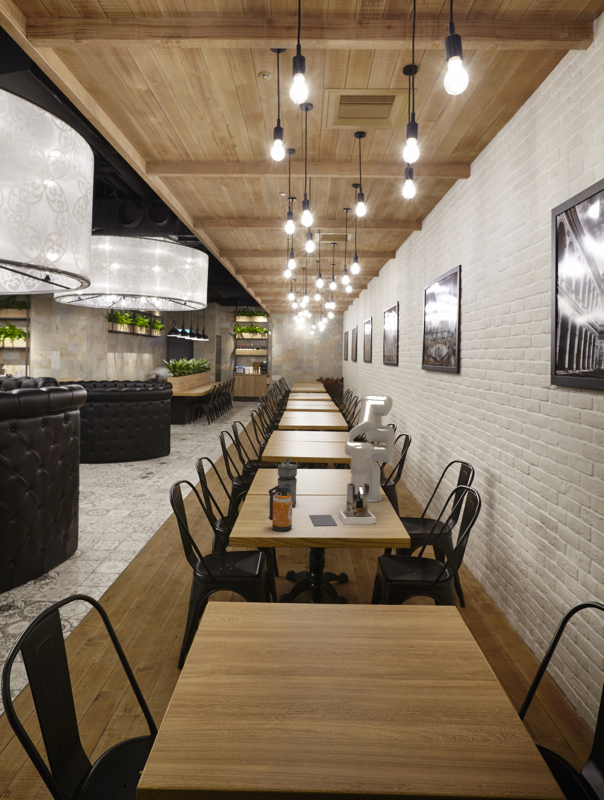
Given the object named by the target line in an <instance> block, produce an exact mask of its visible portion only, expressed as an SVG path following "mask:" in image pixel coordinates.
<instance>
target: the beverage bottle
mask: <svg viewBox="0 0 604 800" xmlns="http://www.w3.org/2000/svg"><path fill="white" fill-rule="evenodd" d="M290 462H291V461H290V458H285V460H284V463H282V464H278V465H277V475H278V478H277V485H278V486H280V487H289V488H291V491H290V492H288V493H287V494H290V495H291V501H292V508H294V507H295V506H296V505H297V483H298V481H297V480H298V479H297V478H296V477H297V475H298V468H297V467H298V465H297V464H293V463H290Z"/></svg>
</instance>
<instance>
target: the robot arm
mask: <svg viewBox="0 0 604 800" xmlns="http://www.w3.org/2000/svg"><path fill="white" fill-rule="evenodd" d="M392 408H393V398H392V397H391V396H390V395H384V394H383V395H382V394H380V395H379V394H364V395H362V396H361V397H360V411H359V416H358V421H357V424H356V425H354V427H352V428H351V429H350V430H349V432H348V434H347V436H346V440H345V445H344V453H345V455H346V456H348V457H350V474H351V477H350V483H352V485H353V486H354V487H355V492H354V494H355V495H356V494H357V500H356V508H363V494H364V488H365V484H368V485H369V503H379V502H381V500H382V501H383V497H382V496H380V492H381V491H380V490H381V468H380V465H379V464H378V463H377V462H381V463H391V462H393V460H394V455H395V430H394V427H392V426H391V425H382V417H385V416H388V415H389V413H390V412H391V410H392ZM363 434H365V438H366V440H367V441H369V442H372V443H369V442H362V441H360V442H359V441H354V439H356V437H358V436H360V435H363ZM375 443H376V444H375ZM377 443H384V444H377ZM358 491H360V494H358ZM358 495H359V497H358ZM378 501H379V502H378Z"/></svg>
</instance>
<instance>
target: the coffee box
mask: <svg viewBox="0 0 604 800" xmlns="http://www.w3.org/2000/svg"><path fill="white" fill-rule="evenodd" d="M354 492H355V487H354V486H353V485H352V483H351V482H350V483H347V489H346V508H345V509H346V515H347V516H348V517H368V510H369V503H370V502H369V485H368V484H365V488H364V494H363V508H356V500H357V494H356V495H355V494H354ZM358 494H360V491H358ZM358 497H359V495H358Z"/></svg>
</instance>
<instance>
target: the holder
mask: <svg viewBox="0 0 604 800" xmlns="http://www.w3.org/2000/svg"><path fill="white" fill-rule="evenodd" d="M338 517H339V519H340V518H341V519H340V520H341V522H342V521H343V522H342V523H343V525H373V524H372V523H377V522H376V520H377V518H376V516H375V515H374V514H373V513H372V512H371V511H370V510H369V509H368V517H348V516H347V515H346V510H338Z"/></svg>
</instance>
